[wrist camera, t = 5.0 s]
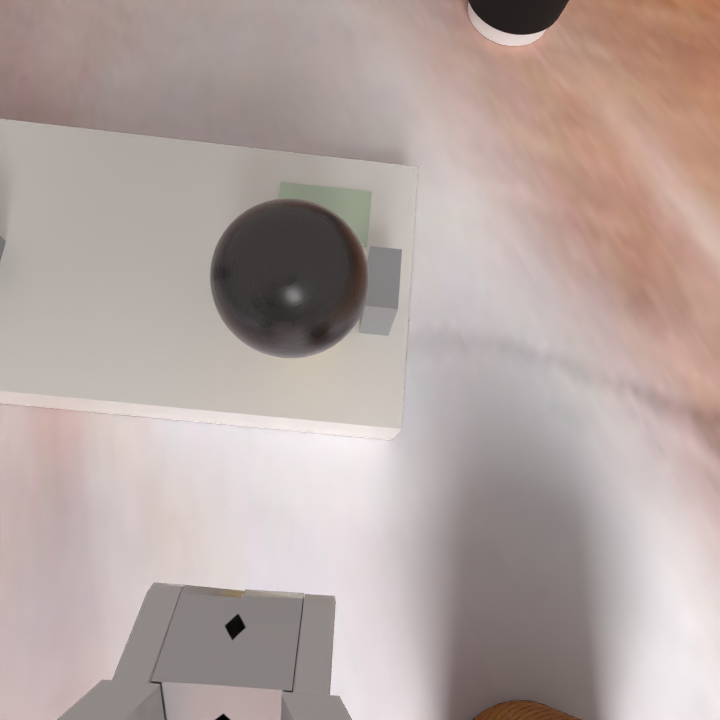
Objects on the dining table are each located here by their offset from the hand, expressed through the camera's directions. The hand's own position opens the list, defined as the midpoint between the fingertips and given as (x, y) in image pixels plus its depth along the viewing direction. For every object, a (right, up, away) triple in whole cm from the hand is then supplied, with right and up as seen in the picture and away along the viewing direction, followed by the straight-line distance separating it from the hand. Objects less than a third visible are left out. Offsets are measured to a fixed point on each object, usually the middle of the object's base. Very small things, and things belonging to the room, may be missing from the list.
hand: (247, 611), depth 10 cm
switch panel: (-8, +8, +17) cm, 20 cm away
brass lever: (0, +7, +14) cm, 16 cm away
